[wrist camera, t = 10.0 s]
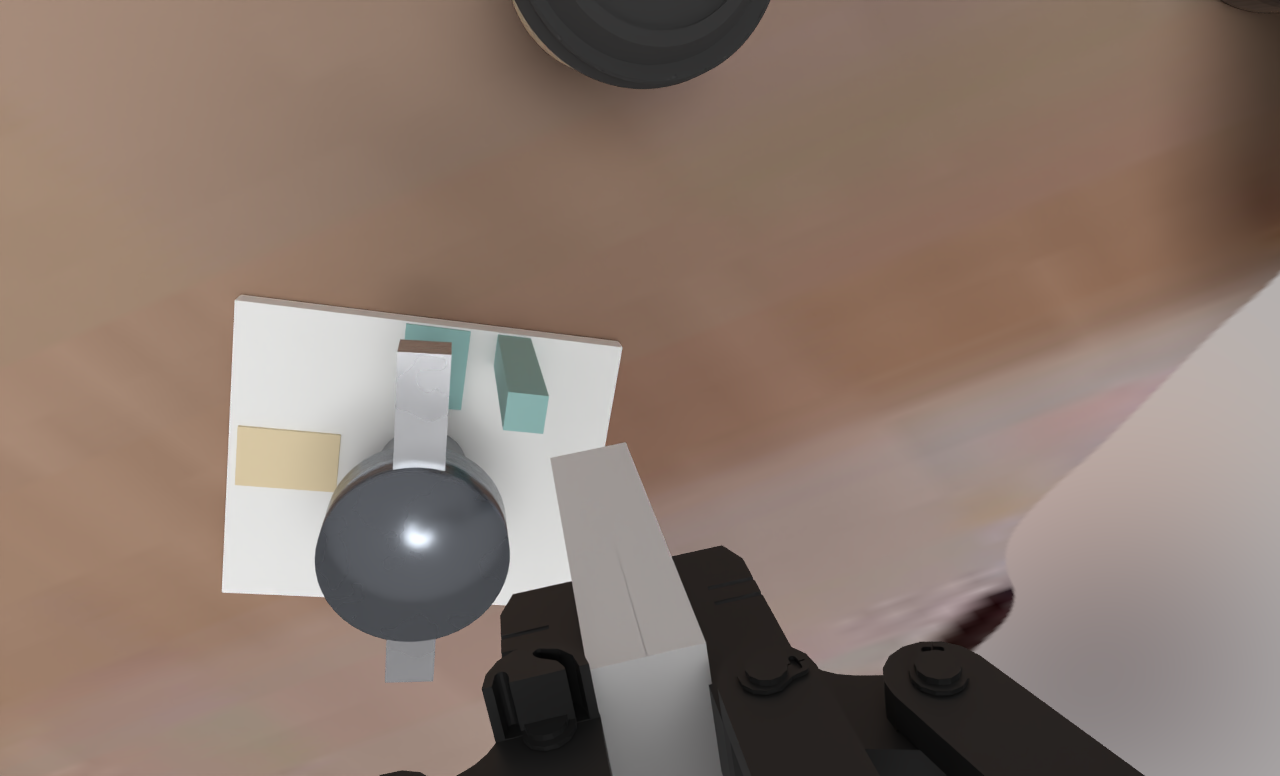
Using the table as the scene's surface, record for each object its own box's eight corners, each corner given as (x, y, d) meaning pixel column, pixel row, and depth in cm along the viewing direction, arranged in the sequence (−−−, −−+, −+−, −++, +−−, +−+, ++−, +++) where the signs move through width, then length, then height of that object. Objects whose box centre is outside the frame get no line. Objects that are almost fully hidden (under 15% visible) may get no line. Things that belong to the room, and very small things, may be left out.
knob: (496, 647, 40) (499, 688, 37) (323, 650, 38) (313, 693, 36) (520, 342, 36) (526, 363, 33) (327, 330, 34) (316, 351, 31)
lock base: (618, 341, 44) (661, 405, 35) (573, 596, 48) (601, 715, 39) (241, 294, 40) (176, 354, 31) (227, 579, 44) (167, 708, 35)
